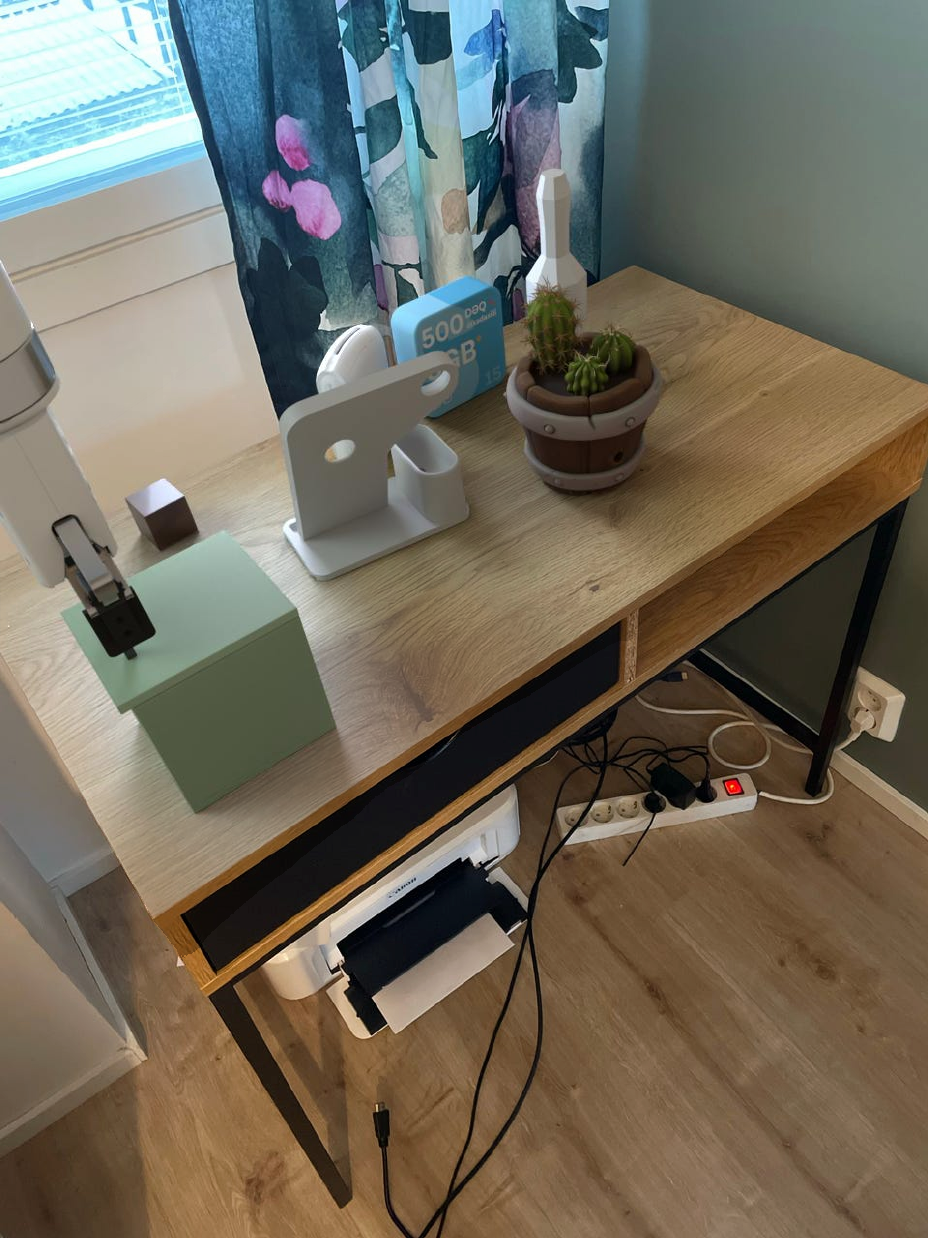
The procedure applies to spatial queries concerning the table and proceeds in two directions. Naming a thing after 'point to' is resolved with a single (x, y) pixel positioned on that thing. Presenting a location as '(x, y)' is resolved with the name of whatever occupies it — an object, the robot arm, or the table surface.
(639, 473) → the table surface
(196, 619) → the green box lid
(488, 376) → the data package
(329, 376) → the photo printer
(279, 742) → the box
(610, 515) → the table surface
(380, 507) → the phone holder
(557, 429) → the flowerpot
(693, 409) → the table surface
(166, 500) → the block
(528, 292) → the low poly bottle
